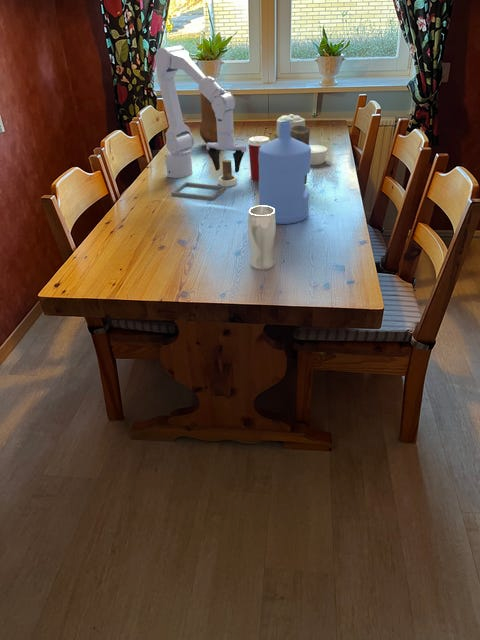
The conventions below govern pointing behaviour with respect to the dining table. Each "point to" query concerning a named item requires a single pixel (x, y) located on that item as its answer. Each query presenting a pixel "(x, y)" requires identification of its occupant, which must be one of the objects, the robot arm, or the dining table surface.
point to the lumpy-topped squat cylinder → (291, 118)
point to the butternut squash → (208, 121)
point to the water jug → (284, 176)
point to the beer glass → (262, 236)
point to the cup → (227, 181)
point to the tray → (177, 193)
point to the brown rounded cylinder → (301, 136)
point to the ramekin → (318, 154)
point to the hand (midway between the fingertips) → (227, 170)
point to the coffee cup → (255, 154)
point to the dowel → (227, 170)
